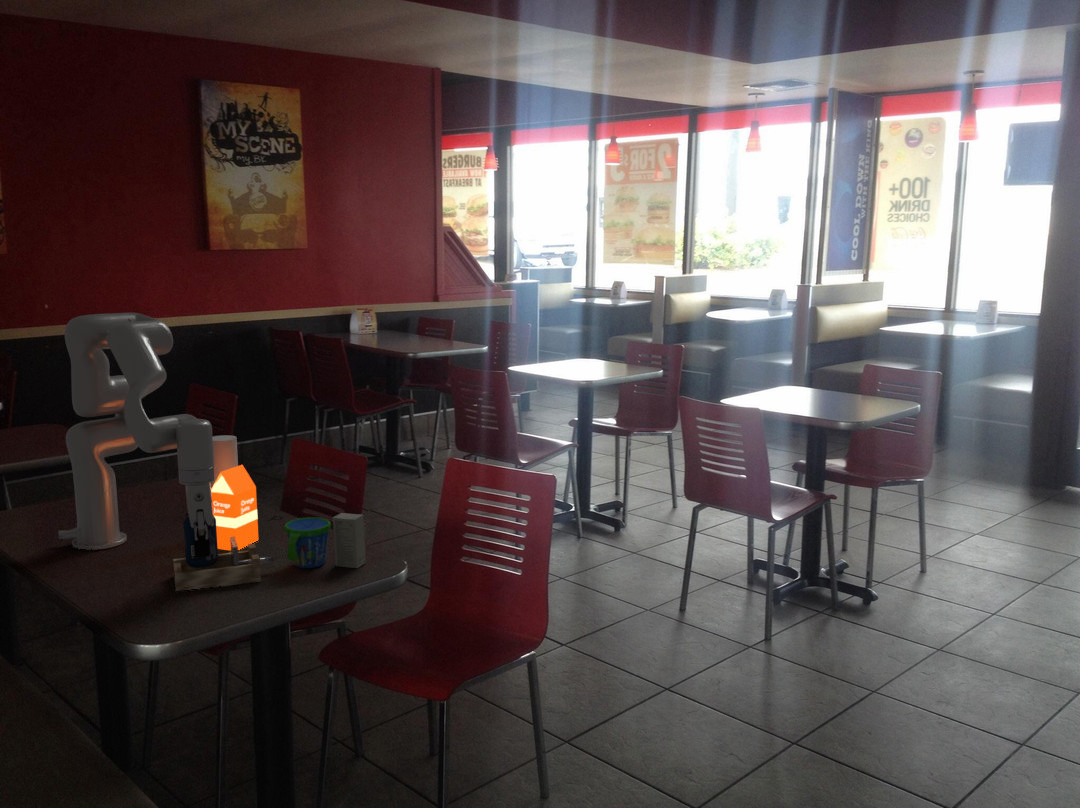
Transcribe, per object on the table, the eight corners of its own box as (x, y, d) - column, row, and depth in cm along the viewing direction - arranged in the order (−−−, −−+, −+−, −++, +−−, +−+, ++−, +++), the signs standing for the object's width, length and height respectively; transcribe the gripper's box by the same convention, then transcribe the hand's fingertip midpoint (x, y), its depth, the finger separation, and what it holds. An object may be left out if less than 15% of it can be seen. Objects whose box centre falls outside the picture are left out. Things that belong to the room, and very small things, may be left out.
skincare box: (366, 563, 222) (365, 514, 220) (357, 569, 218) (355, 519, 216) (343, 560, 225) (342, 511, 222) (333, 566, 220) (332, 516, 218)
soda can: (193, 559, 214) (190, 508, 212) (223, 559, 213) (220, 509, 211) (181, 569, 207) (177, 517, 205) (211, 569, 207) (208, 518, 205)
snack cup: (308, 578, 213) (306, 535, 211) (270, 571, 216) (268, 530, 215) (346, 557, 227) (345, 516, 225) (310, 551, 231) (308, 512, 229)
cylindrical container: (236, 533, 245) (231, 441, 240) (209, 533, 245) (203, 440, 241) (245, 525, 252) (240, 435, 247) (219, 525, 252) (213, 435, 248)
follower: (234, 577, 209) (233, 547, 208) (231, 565, 217) (230, 536, 216) (275, 571, 213) (274, 542, 211) (271, 560, 220) (270, 532, 219)
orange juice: (211, 548, 233) (207, 470, 230) (234, 537, 241) (230, 463, 238) (237, 551, 231) (233, 473, 227) (259, 541, 239) (255, 465, 235)
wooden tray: (175, 592, 203) (174, 568, 202) (174, 575, 214) (173, 552, 213) (260, 581, 210) (259, 558, 209) (255, 565, 220) (254, 543, 220)
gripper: (217, 482, 200) (221, 561, 203) (212, 464, 216) (216, 538, 219) (180, 485, 197) (185, 565, 200) (177, 467, 213) (182, 542, 216)
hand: (201, 550), depth 210 cm, fingers closed on soda can, 6 cm apart
